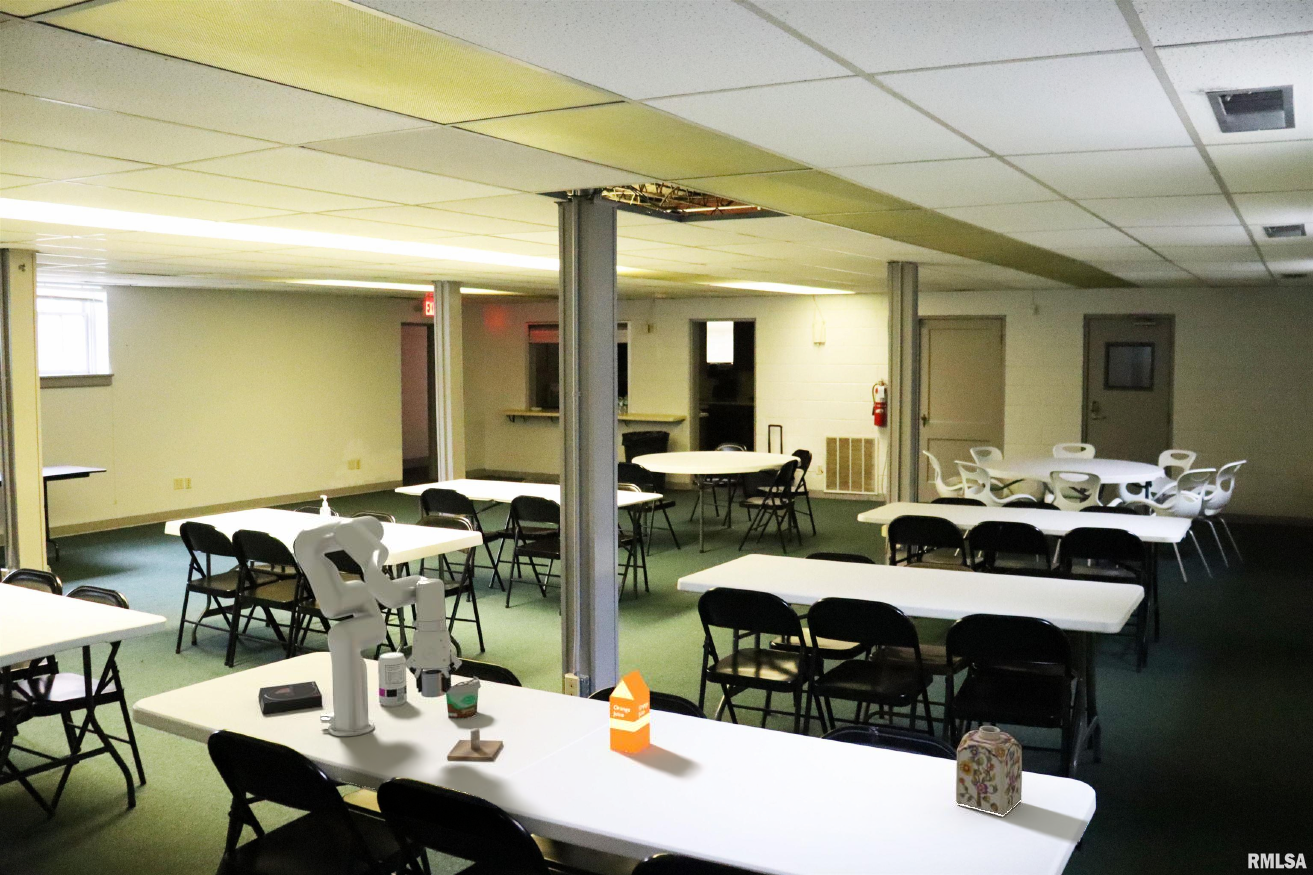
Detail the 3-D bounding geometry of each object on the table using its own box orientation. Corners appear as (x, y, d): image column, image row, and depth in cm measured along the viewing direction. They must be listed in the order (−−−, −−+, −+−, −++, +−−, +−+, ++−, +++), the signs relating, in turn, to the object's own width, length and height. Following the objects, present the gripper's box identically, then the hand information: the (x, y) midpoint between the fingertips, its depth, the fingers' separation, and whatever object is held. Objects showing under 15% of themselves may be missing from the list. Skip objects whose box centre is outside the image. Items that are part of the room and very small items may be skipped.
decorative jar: (974, 789, 257) (975, 716, 255) (1022, 802, 249) (1023, 727, 248) (954, 805, 248) (955, 730, 246) (1003, 819, 240) (1004, 741, 239)
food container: (458, 723, 307) (458, 689, 307) (444, 719, 311) (443, 685, 310) (489, 712, 317) (489, 679, 317) (475, 708, 321) (475, 675, 320)
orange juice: (609, 749, 286) (608, 676, 284) (625, 738, 294) (625, 667, 292) (635, 753, 282) (634, 680, 281) (650, 743, 290) (650, 671, 289)
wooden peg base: (447, 759, 279) (446, 737, 279) (459, 743, 291) (459, 721, 291) (492, 760, 278) (491, 738, 278) (502, 744, 290) (502, 722, 290)
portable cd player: (258, 700, 331) (257, 688, 331) (315, 693, 338) (315, 681, 338) (262, 716, 316) (262, 703, 316) (322, 708, 323) (321, 695, 323)
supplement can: (374, 706, 324) (372, 657, 323) (388, 697, 332) (387, 650, 330) (397, 708, 321) (396, 659, 320) (411, 700, 329) (410, 652, 328)
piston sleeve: (418, 697, 283) (417, 675, 282) (426, 690, 289) (425, 668, 289) (441, 697, 282) (441, 675, 282) (448, 690, 289) (448, 668, 288)
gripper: (395, 628, 282) (398, 695, 283) (458, 628, 280) (461, 695, 281) (404, 622, 289) (407, 686, 290) (466, 621, 287) (469, 687, 288)
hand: (434, 690), depth 286 cm, fingers closed on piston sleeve, 6 cm apart
